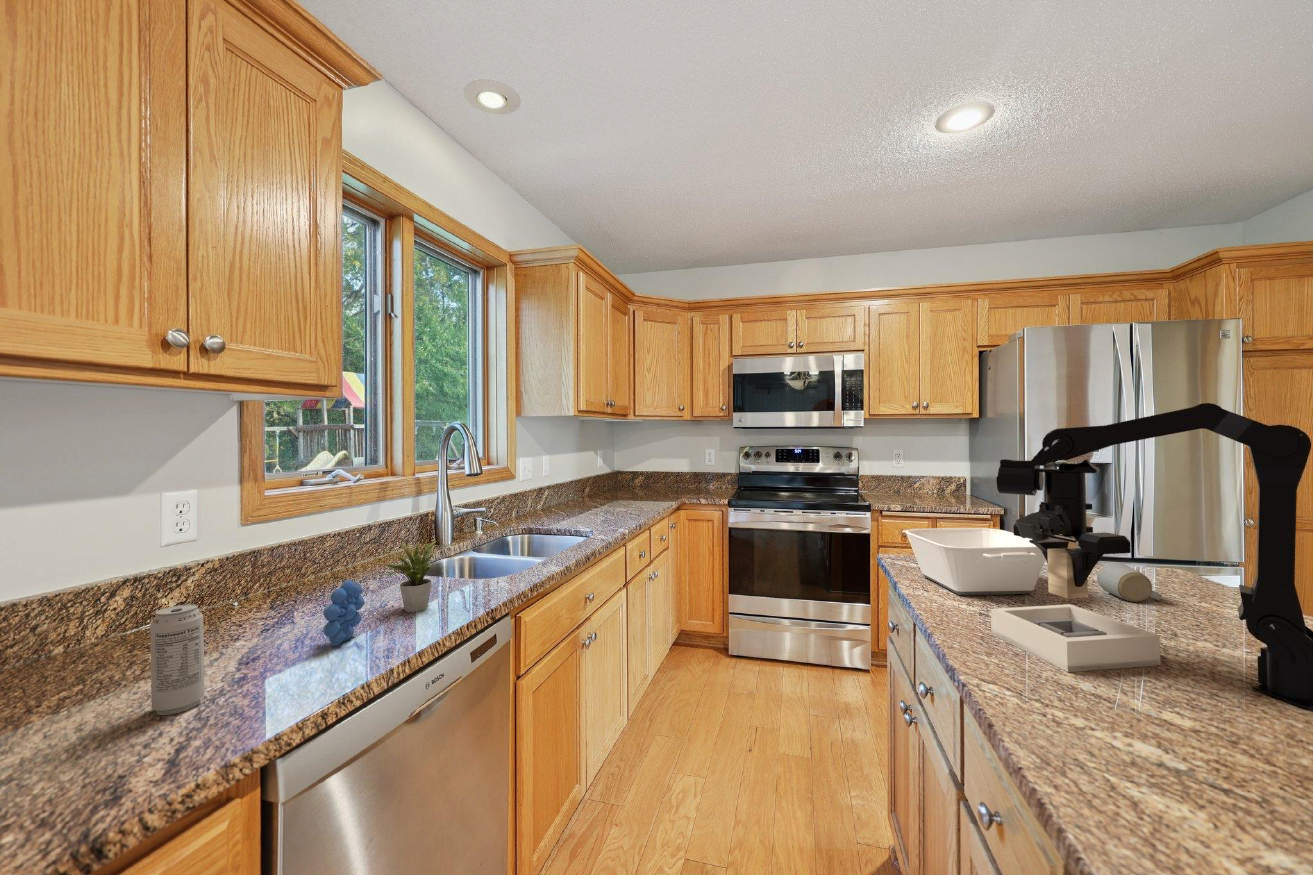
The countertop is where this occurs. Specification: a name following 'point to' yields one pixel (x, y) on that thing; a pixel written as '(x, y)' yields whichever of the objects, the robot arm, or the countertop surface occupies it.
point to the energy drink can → (177, 659)
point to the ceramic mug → (1125, 582)
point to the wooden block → (1063, 575)
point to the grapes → (343, 612)
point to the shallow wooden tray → (1075, 637)
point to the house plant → (414, 578)
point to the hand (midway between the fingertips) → (1067, 583)
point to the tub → (977, 560)
